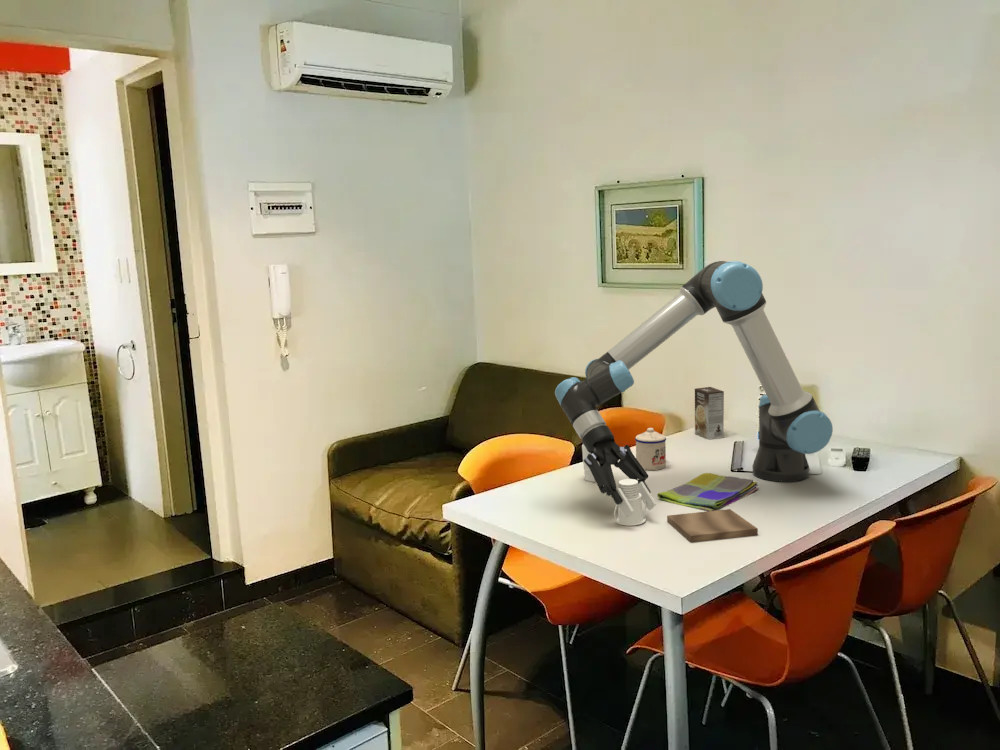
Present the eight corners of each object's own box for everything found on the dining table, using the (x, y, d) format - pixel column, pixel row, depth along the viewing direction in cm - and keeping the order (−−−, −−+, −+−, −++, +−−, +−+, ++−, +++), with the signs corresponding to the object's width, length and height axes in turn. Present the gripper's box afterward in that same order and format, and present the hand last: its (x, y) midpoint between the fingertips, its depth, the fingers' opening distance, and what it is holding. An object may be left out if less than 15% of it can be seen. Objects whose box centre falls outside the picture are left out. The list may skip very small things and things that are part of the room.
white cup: (610, 474, 232) (609, 441, 230) (611, 482, 224) (610, 448, 223) (582, 475, 233) (581, 441, 231) (582, 483, 225) (581, 448, 224)
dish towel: (653, 501, 209) (653, 490, 208) (703, 479, 226) (703, 469, 225) (713, 514, 196) (713, 503, 196) (761, 490, 213) (761, 480, 213)
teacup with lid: (656, 472, 232) (655, 433, 230) (629, 467, 238) (628, 429, 236) (677, 463, 241) (676, 425, 239) (651, 458, 247) (650, 421, 245)
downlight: (642, 514, 197) (639, 475, 195) (651, 524, 190) (649, 483, 189) (610, 519, 196) (608, 480, 194) (619, 528, 189) (616, 488, 187)
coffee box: (693, 434, 275) (693, 388, 273) (710, 432, 277) (710, 386, 274) (707, 439, 267) (707, 392, 264) (724, 437, 268) (724, 390, 266)
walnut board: (729, 515, 194) (729, 509, 194) (757, 534, 180) (757, 528, 180) (667, 521, 192) (667, 515, 191) (690, 542, 178) (690, 535, 178)
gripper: (616, 434, 208) (662, 509, 198) (557, 448, 198) (603, 528, 187) (629, 417, 203) (678, 493, 193) (570, 430, 192) (618, 512, 182)
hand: (641, 510), depth 190 cm, fingers closed on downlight, 7 cm apart
